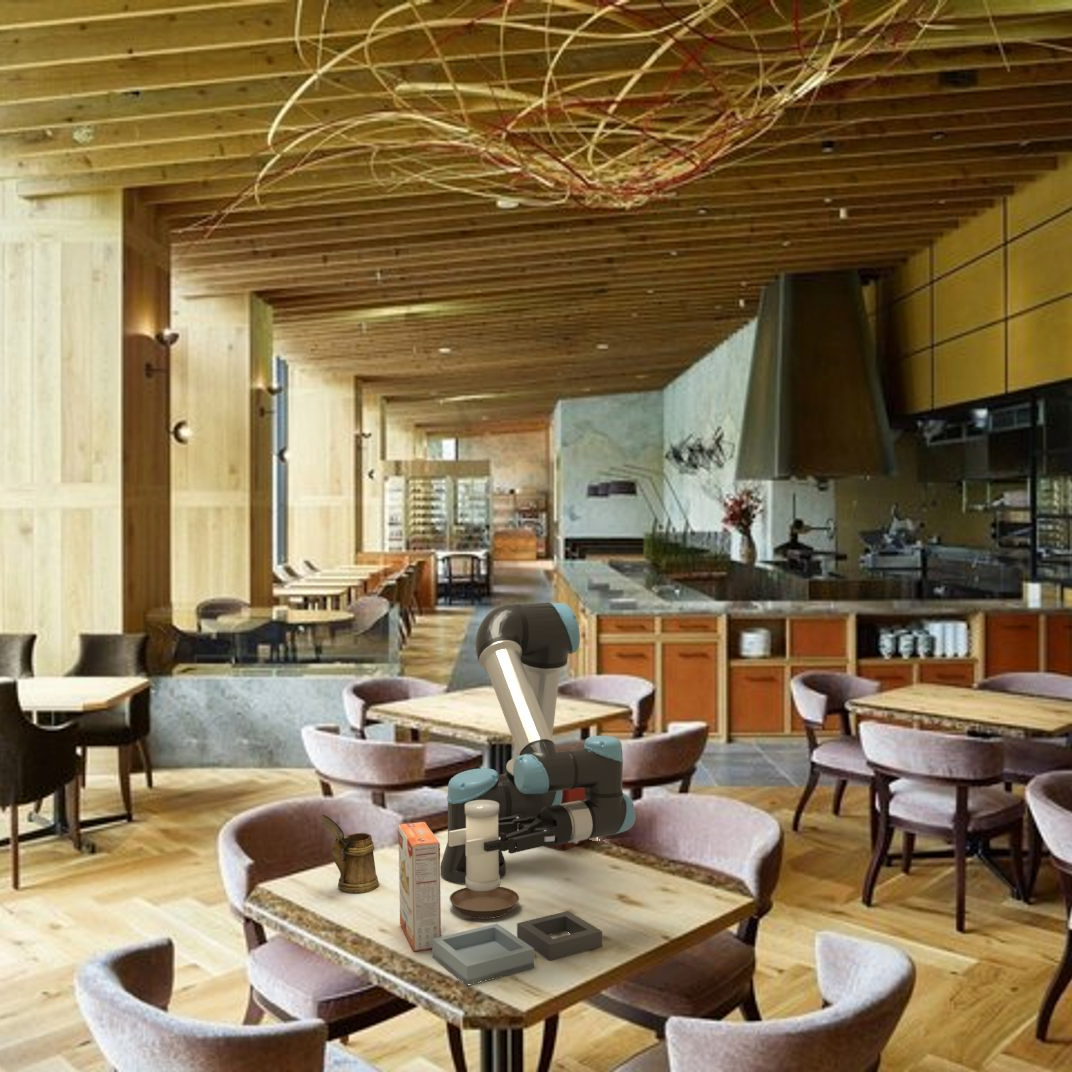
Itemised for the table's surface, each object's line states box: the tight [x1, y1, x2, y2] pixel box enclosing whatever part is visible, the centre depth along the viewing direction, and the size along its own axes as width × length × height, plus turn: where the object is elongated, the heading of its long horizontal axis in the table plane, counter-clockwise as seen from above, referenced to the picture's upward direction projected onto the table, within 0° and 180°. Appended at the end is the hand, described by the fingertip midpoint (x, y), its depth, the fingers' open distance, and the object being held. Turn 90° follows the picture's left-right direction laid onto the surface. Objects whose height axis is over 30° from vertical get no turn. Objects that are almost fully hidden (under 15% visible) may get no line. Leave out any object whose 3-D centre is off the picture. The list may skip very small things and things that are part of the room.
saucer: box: [449, 885, 520, 919], centre depth 220 cm, size 15×15×3 cm
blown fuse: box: [465, 800, 501, 891], centre depth 193 cm, size 6×6×15 cm
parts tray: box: [431, 923, 535, 986], centre depth 193 cm, size 14×14×4 cm
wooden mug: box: [321, 814, 380, 894], centre depth 231 cm, size 9×14×18 cm, turn 132°
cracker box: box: [397, 821, 442, 952], centre depth 205 cm, size 14×6×21 cm, turn 18°
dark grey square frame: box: [516, 910, 603, 961], centre depth 202 cm, size 12×12×3 cm
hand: (458, 843), depth 190 cm, fingers closed on blown fuse, 6 cm apart
